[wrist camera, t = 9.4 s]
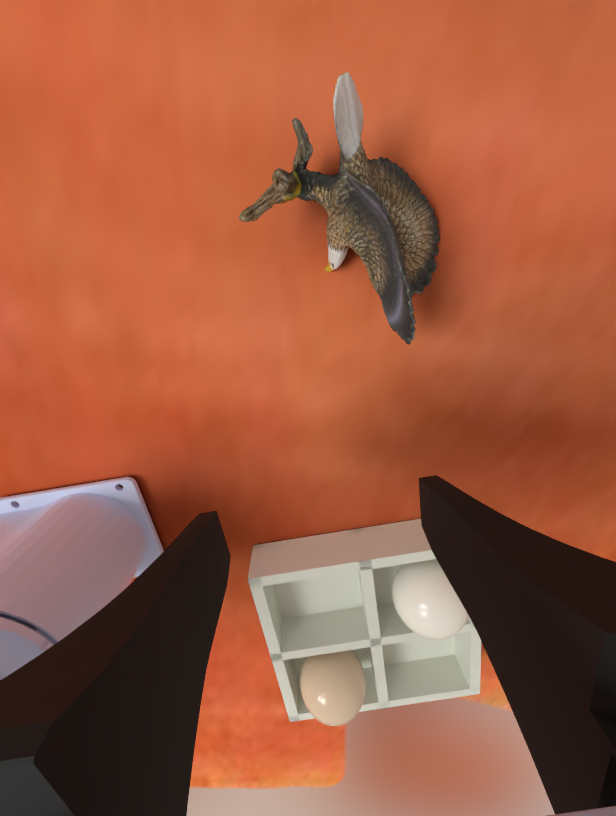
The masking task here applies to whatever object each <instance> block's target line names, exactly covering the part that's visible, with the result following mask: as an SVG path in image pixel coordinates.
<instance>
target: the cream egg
mask: <svg viewBox="0 0 616 816" xmlns="http://www.w3.org/2000/svg"><path fill="white" fill-rule="evenodd" d="M392 598H393V603H394V606H395V609H396V611H397V613H398V615H399V616H400V618H401V620H402V621H403V622H404V623H405V625H406V626H407V627H408V628H409V629H411V630H412V631H413V632H415V633H416V634H418V635H420V636H422V637H424V638H428V639H432V640H443V639H447V638H450V637H452V636H454V635H456V634H457V633H458V632H459V631H460V630H461V629H462V628H463V626H464V625H465V623H466V621H467V619H468V613H467V612H466V610H465V608H464V606H463V605H462V603H461V601H460V599H459V598H458V596H457V594H456V593H455V591H454V589H453V587H452V586H451V584H450V582H449V580H448V579H447V577H446V575H445V573H444V572H443V570H442V568H441V566H440V565H439V563H438V561H437V559H433V560H427V561H420V562H414V563H408V564H402V565H401V566H400V567H399V568H398V570H397V572H396V574H395V576H394V579H393V583H392Z"/></svg>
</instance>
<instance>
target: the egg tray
mask: <svg viewBox="0 0 616 816" xmlns="http://www.w3.org/2000/svg"><path fill="white" fill-rule="evenodd" d="M433 559H436V557H435V556H434V554H433V552H432V550H431V547H430V545H429V543H428V540H427V538H426V536H425V533H424V531H423V528H422V526H421V519H415V520H409V521H402V522H396V523H390V524H384V525H377V526H371V527H365V528H358V529H352V530H346V531H339V532H333V533H327V534H321V535H314V536H308V537H302V538H295V539H289V540H283V541H277V542H270V543H264V544H258V545H253V549H252V555H251V561H250V567H249V573H248V582H249V585H250V589H251V592H252V596H253V599H254V602H255V606H256V609H257V612H258V616H259V619H260V622H261V626H262V629H263V632H264V636H265V639H266V643H267V646H268V649H269V653H270V656H271V659H272V663H273V666H274V669H275V673H276V676H277V680H278V683H279V686H280V690H281V693H282V696H283V700H284V703H285V706H286V710H287V713H288V717H289V720H290V722H293V721H300V720H307V719H313V718H314V717H313V715H312V714H311V713H310V712H309V710H308V709H307V707H306V705H305V703H304V700H303V697H302V694H301V688H300V675H301V669H302V666H303V663H304V661H305V658H306V657H308V656H315V655H321V654H328V653H334V652H341V651H347V650H352V651H353V652H354V653H355V654H356V655H357V657H358V658H359V660H360V662H361V664H362V667H363V670H364V674H365V680H366V690H365V697H364V701H363V704H362V706H361V708H360V710H359V712H360V711H367V710H374V709H381V708H387V707H394V706H401V705H408V704H414V703H421V702H428V701H434V700H441V699H448V698H455V697H462V696H468V695H475V694H480V672H481V639H480V637H479V635H478V633H477V630H476V629H475V627H474V625H473V623H472V621H471V619H470V617H469V615H468V619H467V621H466V623H465V625H464V626H463V628H462V629H461V630H460V631H459V632H458V633H457V634H456V635H454V636H452V637H450V638H447V639H443V640H432V639H428V638H424V637H422V636H420V635H418V634H416V633H415V632H413V631H412V630H411V629H409V628H408V627H407V626H406V625H405V623H404V622H403V621H402V620H401V618H400V616H399V615H398V613H397V611H396V609H395V606H394V603H393V598H392V583H393V579H394V576H395V574H396V572H397V570H398V568H399V567H400V566H401V565H402V564H408V563H414V562H420V561H427V560H433Z"/></svg>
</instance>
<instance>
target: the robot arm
mask: <svg viewBox="0 0 616 816" xmlns="http://www.w3.org/2000/svg"><path fill="white" fill-rule="evenodd" d="M118 484H121V485H122V486H123V488H122V487H120V486H119V485H118ZM419 490H420V508H421V526H422V528H423V531H424V533H425V536H426V538H427V540H428V543H429V545H430V547H431V550H432V552H433V554H434V556H435V557H436V559H437V561H438V563H439V565H440V566H441V568H442V570H443V572H444V573H445V575H446V577H447V579H448V580H449V582H450V584H451V586H452V587H453V589H454V591H455V593H456V594H457V596H458V598H459V599H460V601H461V603H462V605H463V606H464V608H465V610H466V612H467V613H468V615H469V617H470V619H471V621H472V623H473V625H474V627H475V629H476V630H477V633H478V635H479V637H480V639H481V641H482V643H483V646H484V648H485V650H486V652H487V654H488V656H489V659H490V661H491V663H492V665H493V667H494V670H495V672H496V674H497V676H498V679H499V681H500V683H501V685H502V688H503V690H504V692H505V694H506V697H507V699H508V701H509V704H510V706H511V708H512V711H513V713H514V715H515V718H516V720H517V722H518V725H519V727H520V729H521V732H522V734H523V737H524V739H525V741H526V743H527V746H528V748H529V751H530V753H531V755H532V758H533V760H534V763H535V765H536V768H537V770H538V773H539V775H540V778H541V780H542V783H543V785H544V788H545V790H546V793H547V795H548V798H549V800H550V803H551V805H552V807H553V810H554V813H555V815H548V816H616V562H614V561H611V560H608V559H605V558H602V557H599V556H596V555H593V554H591V553H588V552H585V551H583V550H580V549H577V548H575V547H572V546H569V545H567V544H564V543H562V542H559V541H557V540H555V539H552V538H550V537H548V536H546V535H543V534H541V533H539V532H537V531H534V530H532V529H530V528H528V527H526V526H524V525H522V524H520V523H518V522H516V521H514V520H512V519H510V518H508V517H506V516H504V515H502V514H500V513H498V512H497V511H495V510H493V509H491V508H489V507H488V506H486V505H484V504H483V503H481V502H479V501H477V500H476V499H474V498H472V497H471V496H469V495H468V494H466V493H464V492H463V491H461V490H459V489H458V488H456V487H455V486H453V485H451V484H450V483H448V482H447V481H445V480H443V479H442V478H440V477H438V476H437V475H435V476H429V477H423V478H419ZM17 502H18V503H19V504H18V503H17ZM229 565H230V553H229V550H228V546H227V543H226V540H225V537H224V533H223V530H222V527H221V524H220V521H219V517H218V514H217V511H212V512H206V513H200V514H199V515H198V516H197V517H196V518H195V519H194V520H193V521H192V522H191V523H190V524H189V525H188V526H187V527H186V528H185V529H184V530H183V531H182V532H181V533H180V535H179V536H178V537H177V538H176V539H175V540H174V541H173V542H172V543H171V544H170V545H169V546H168V547H167V548H166V549H165V550H163V547H162V545H161V542H160V540H159V537H158V535H157V532H156V530H155V527H154V525H153V522H152V520H151V517H150V515H149V512H148V510H147V507H146V505H145V502H144V500H143V497H142V494H141V492H140V489H139V487H138V484H137V482H136V480H135V479H133V478H131V477H123V478H117V479H111V480H105V481H99V482H93V483H86V484H80V485H74V486H68V487H62V488H56V489H50V490H44V491H38V492H32V493H26V494H19V495H13V496H7V497H1V498H0V816H186V813H187V803H188V795H189V787H190V779H191V771H192V762H193V754H194V747H195V740H196V732H197V725H198V718H199V711H200V705H201V699H202V692H203V686H204V680H205V674H206V668H207V664H208V659H209V654H210V651H211V647H212V643H213V639H214V635H215V631H216V627H217V623H218V619H219V615H220V611H221V607H222V603H223V599H224V595H225V591H226V587H227V581H228V574H229ZM133 577H137V578H136V579H135V580H134V581H133V582H132V583H131V581H132V579H133ZM130 583H131V584H130ZM129 584H130V585H129Z"/></svg>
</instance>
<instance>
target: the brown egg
mask: <svg viewBox="0 0 616 816" xmlns="http://www.w3.org/2000/svg"><path fill="white" fill-rule="evenodd" d="M300 688H301V694H302V697H303V700H304V703H305V705H306V707H307V709H308V710H309V712H310V713H311V714H312V715H313V717H314V718H316V719H317V720H318V721H319V722H321V723H323V724H325V725H329V726H340V725H343V724H346V723H348V722H349V721H350V720H352V719H353V718H354V717H355V716H356V715H357V713H358V712H359V710H360V708H361V706H362V704H363V701H364V697H365V690H366V680H365V674H364V670H363V667H362V664H361V662H360V660H359V658H358V657H357V655H356V654H355V653H354V652H353V651H352V650H347V651H341V652H334V653H328V654H321V655H315V656H308V657H306V658H305V661H304V663H303V666H302V669H301V675H300Z"/></svg>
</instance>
